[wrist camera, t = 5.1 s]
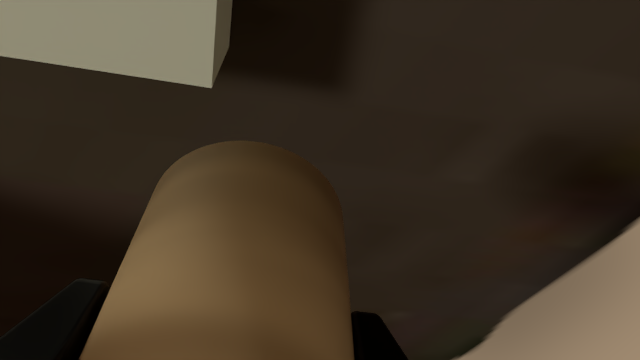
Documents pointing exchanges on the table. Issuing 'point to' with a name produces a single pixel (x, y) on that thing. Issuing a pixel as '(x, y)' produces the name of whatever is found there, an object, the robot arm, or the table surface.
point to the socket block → (121, 36)
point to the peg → (232, 265)
